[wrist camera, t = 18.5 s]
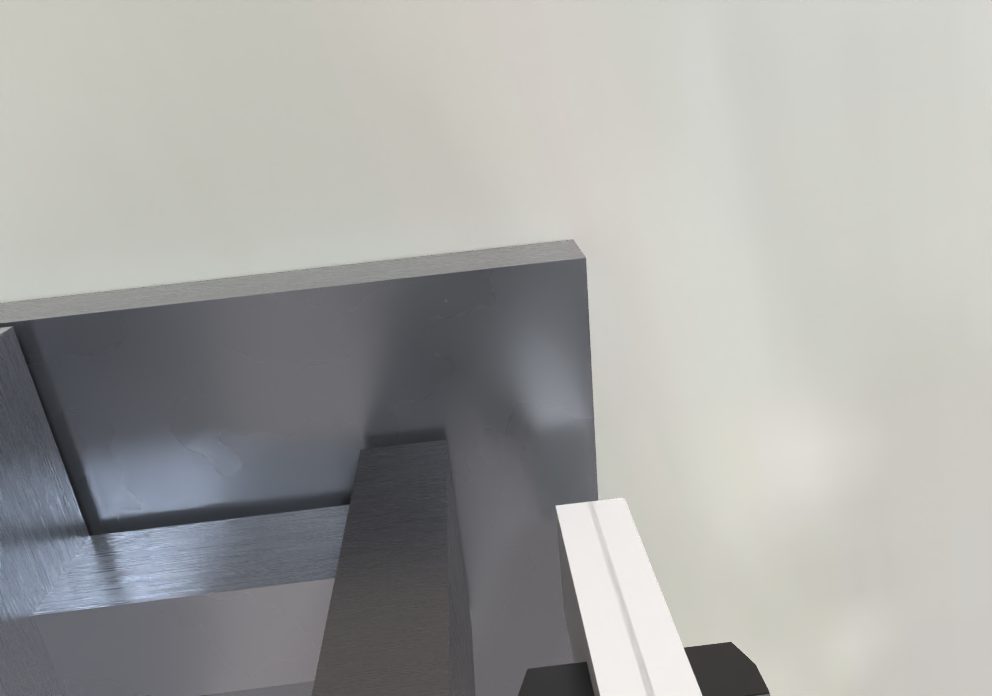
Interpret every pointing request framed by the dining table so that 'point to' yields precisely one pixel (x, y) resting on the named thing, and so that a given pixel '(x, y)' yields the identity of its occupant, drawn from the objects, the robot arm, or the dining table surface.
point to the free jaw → (228, 583)
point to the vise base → (340, 410)
